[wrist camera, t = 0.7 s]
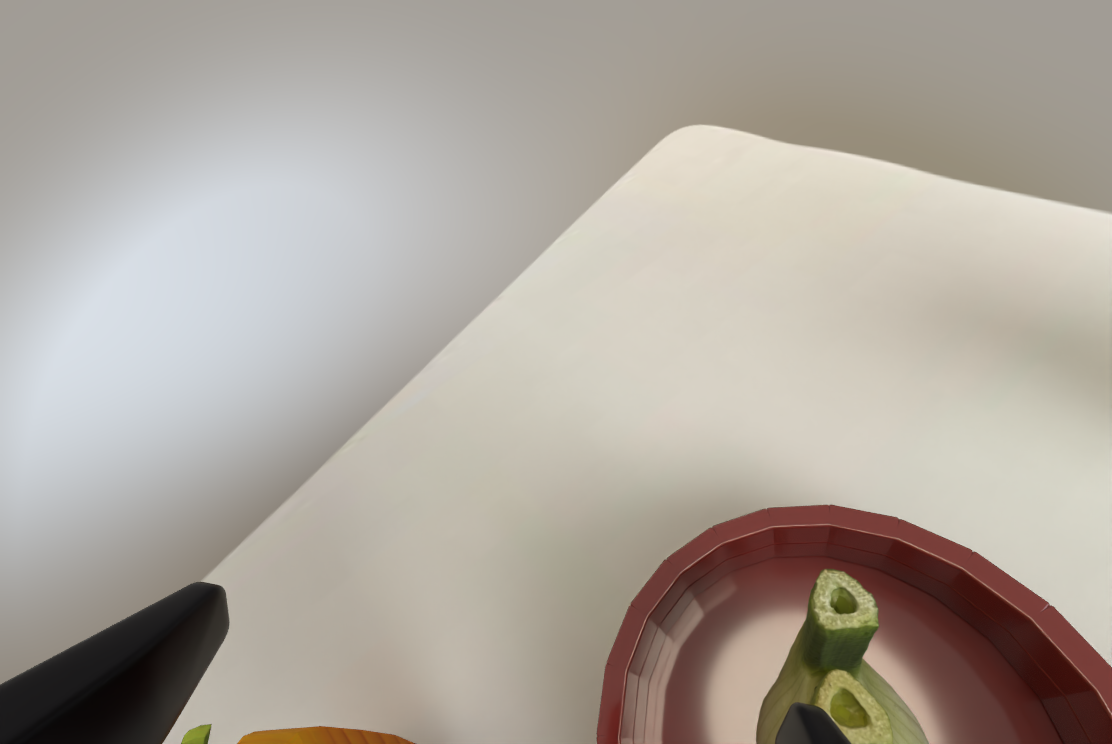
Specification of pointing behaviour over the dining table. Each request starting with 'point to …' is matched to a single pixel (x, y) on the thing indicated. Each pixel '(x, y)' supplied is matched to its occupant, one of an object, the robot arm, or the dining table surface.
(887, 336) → the dining table surface
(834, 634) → the fennel bulb
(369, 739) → the carrot
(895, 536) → the bowl
